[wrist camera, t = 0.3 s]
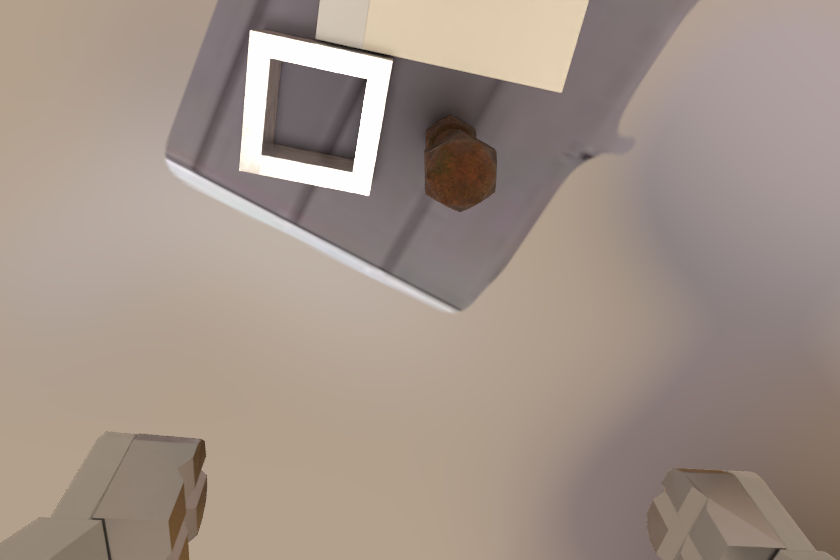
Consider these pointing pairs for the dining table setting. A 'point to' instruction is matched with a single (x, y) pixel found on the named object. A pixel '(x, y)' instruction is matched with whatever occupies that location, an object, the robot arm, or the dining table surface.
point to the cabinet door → (464, 34)
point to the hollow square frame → (263, 102)
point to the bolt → (458, 165)
